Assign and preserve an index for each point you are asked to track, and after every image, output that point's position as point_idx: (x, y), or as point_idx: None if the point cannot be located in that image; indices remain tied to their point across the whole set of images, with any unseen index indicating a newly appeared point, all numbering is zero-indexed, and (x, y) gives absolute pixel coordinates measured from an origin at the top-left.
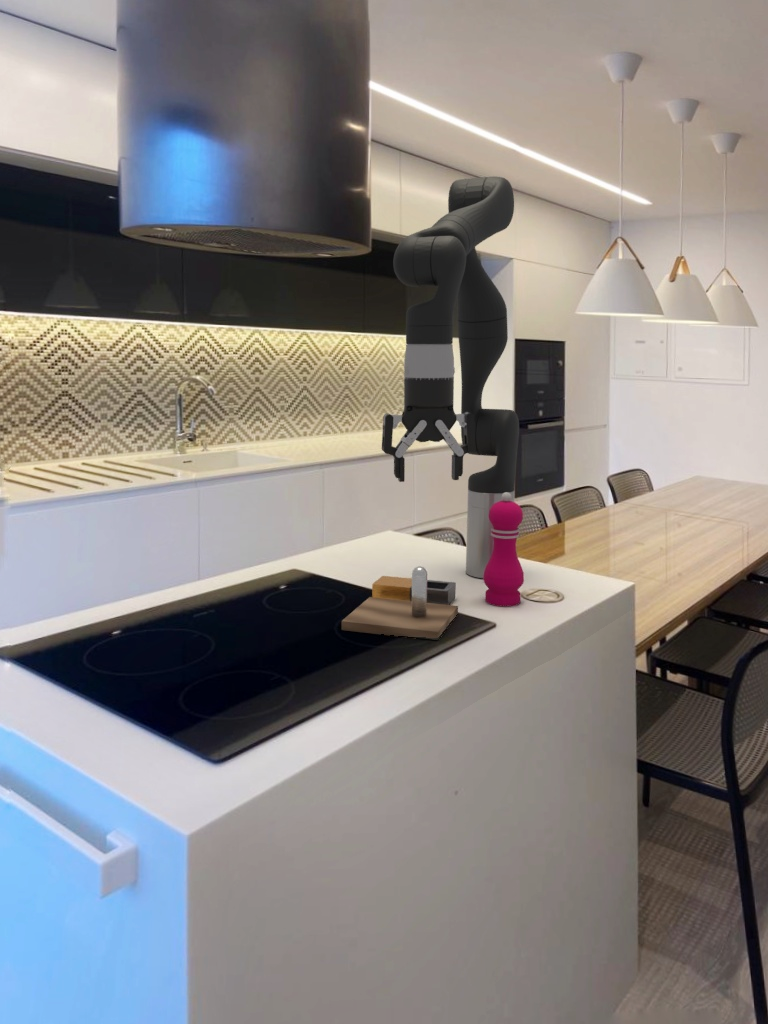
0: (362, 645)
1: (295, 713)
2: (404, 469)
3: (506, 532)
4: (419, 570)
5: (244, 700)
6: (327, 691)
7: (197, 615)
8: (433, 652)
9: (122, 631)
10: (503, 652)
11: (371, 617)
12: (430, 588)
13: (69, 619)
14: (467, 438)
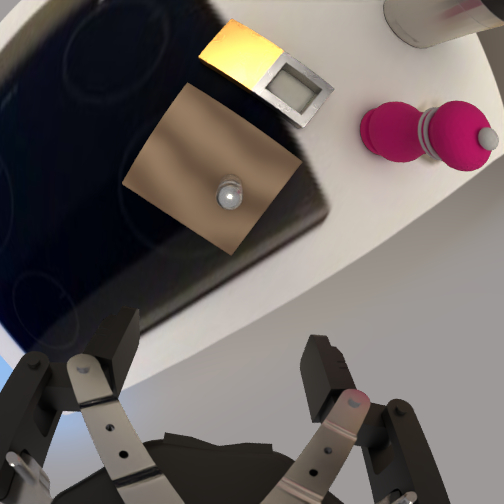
0: (140, 240)
1: None
2: (128, 369)
3: (436, 157)
4: (225, 207)
5: (49, 326)
6: None
7: (3, 105)
8: (213, 281)
9: None
10: (288, 299)
11: (162, 178)
12: (282, 104)
13: None
14: (368, 474)
